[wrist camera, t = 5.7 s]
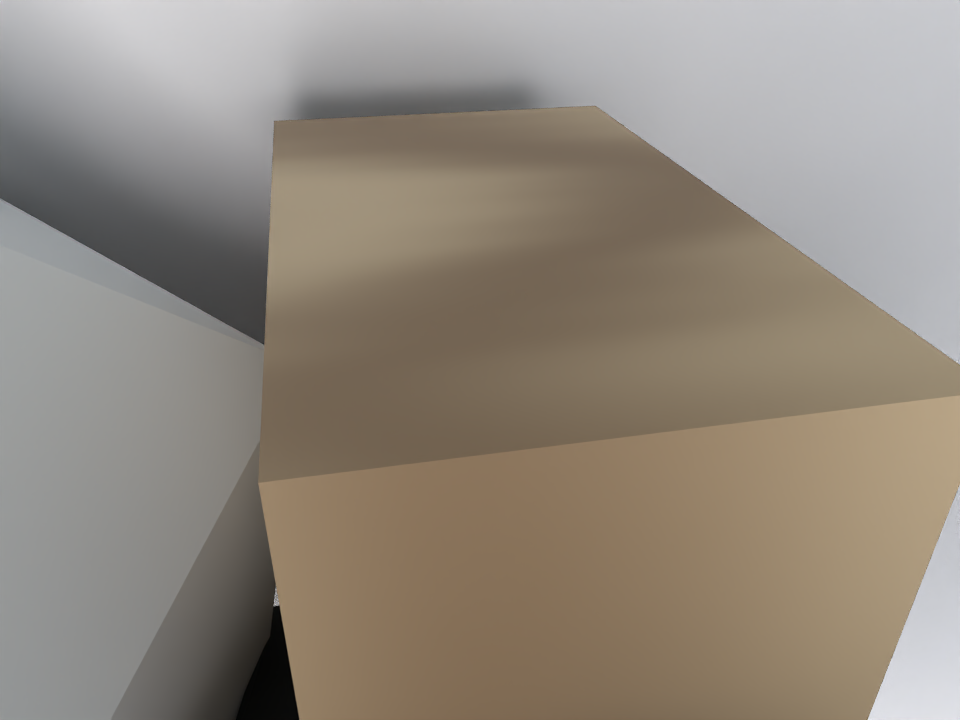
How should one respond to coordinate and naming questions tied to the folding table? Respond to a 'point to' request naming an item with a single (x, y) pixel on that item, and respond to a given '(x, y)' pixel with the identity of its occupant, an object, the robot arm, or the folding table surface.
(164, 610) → the die
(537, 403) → the tan rectangular block
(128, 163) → the folding table surface
